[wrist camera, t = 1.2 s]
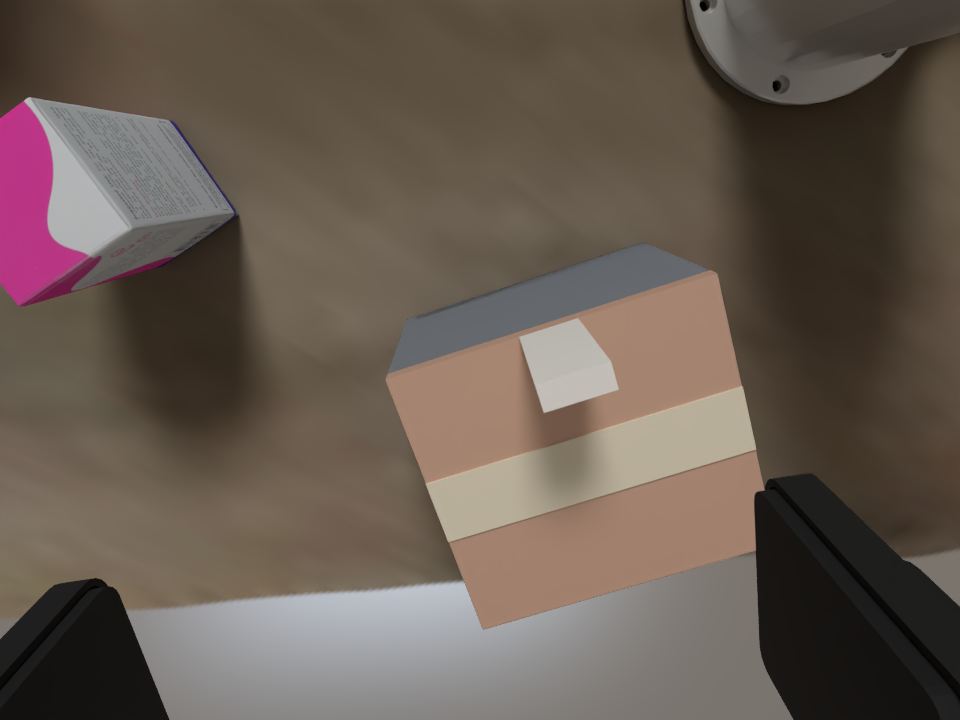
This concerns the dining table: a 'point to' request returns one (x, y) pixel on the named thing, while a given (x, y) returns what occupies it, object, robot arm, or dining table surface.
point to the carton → (538, 302)
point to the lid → (588, 450)
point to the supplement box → (96, 197)
